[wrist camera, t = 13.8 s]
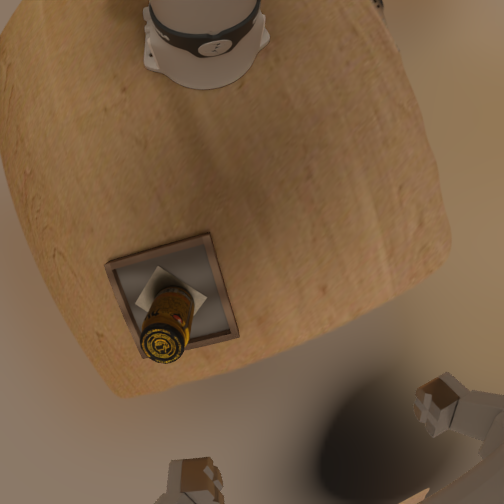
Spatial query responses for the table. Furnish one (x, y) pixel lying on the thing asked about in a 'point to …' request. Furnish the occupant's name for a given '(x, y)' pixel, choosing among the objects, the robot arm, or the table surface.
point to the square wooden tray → (188, 271)
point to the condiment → (167, 316)
